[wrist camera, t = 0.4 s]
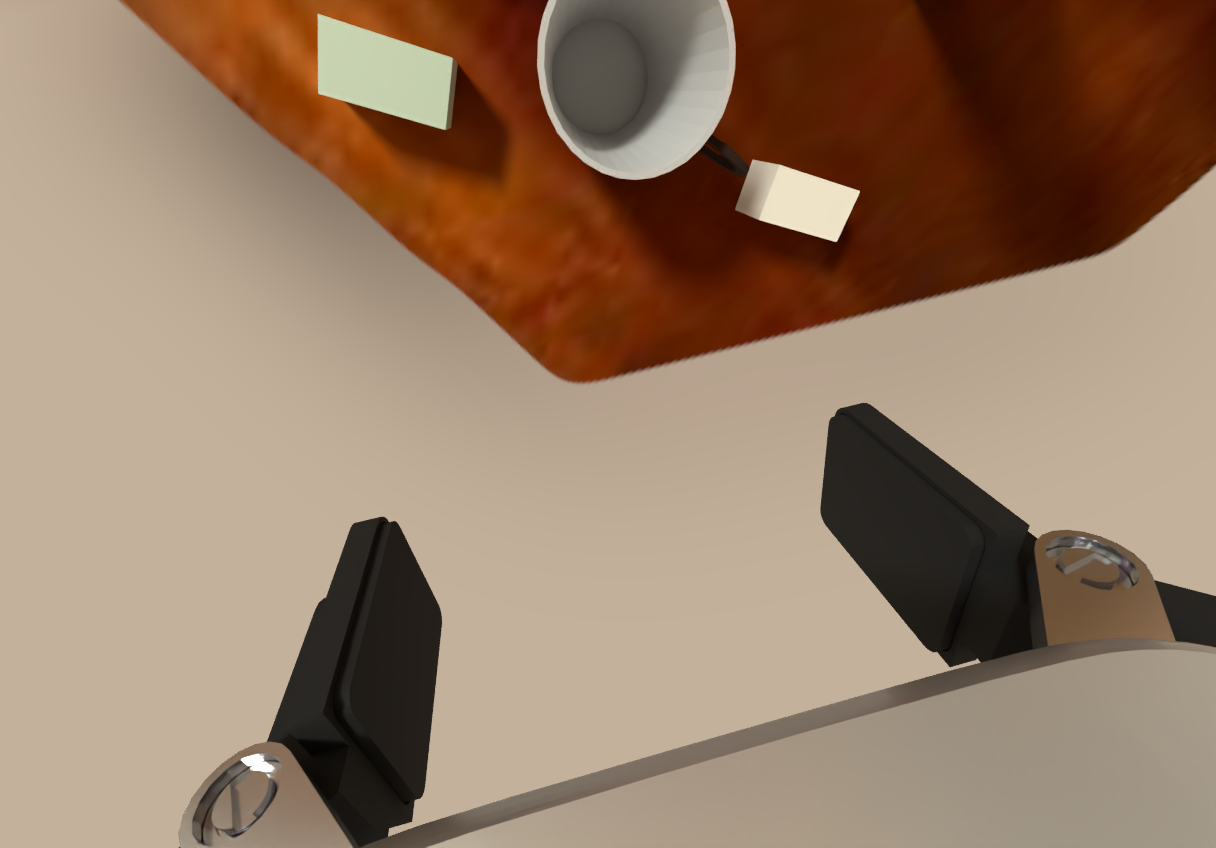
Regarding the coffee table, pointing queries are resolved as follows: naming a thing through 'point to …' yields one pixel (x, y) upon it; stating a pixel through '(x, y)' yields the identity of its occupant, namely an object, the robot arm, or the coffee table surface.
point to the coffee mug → (638, 82)
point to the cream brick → (796, 200)
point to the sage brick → (385, 74)
